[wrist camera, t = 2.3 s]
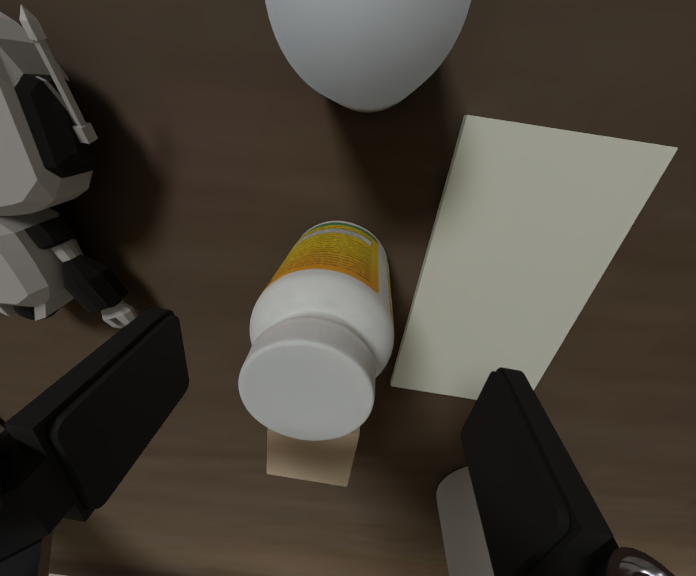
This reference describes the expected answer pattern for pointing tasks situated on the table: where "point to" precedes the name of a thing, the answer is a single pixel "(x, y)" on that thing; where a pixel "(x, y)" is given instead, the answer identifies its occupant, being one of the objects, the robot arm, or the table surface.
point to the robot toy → (45, 185)
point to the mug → (462, 527)
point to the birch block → (312, 457)
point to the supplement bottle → (320, 335)
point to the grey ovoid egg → (366, 45)
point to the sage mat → (518, 249)
